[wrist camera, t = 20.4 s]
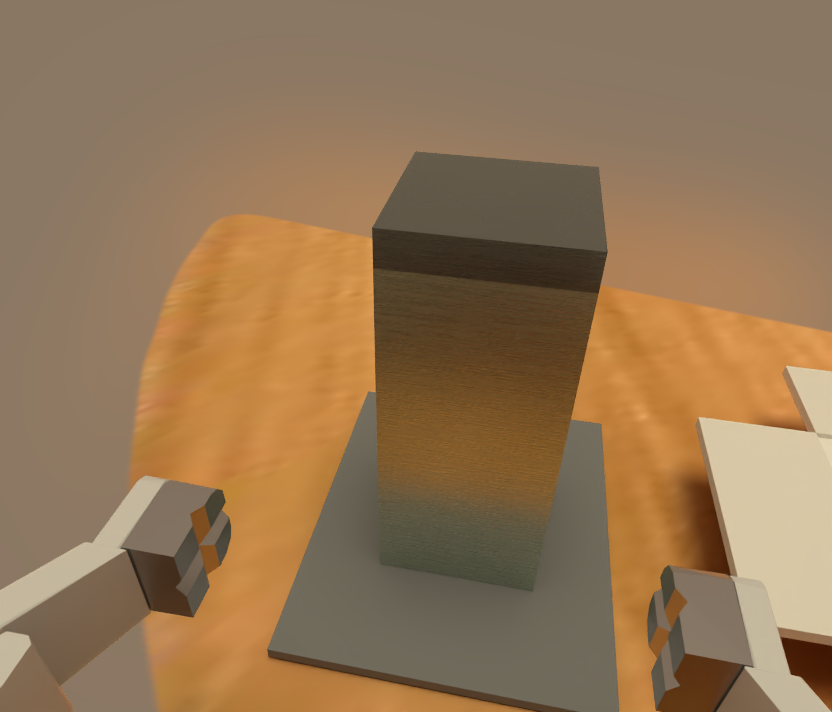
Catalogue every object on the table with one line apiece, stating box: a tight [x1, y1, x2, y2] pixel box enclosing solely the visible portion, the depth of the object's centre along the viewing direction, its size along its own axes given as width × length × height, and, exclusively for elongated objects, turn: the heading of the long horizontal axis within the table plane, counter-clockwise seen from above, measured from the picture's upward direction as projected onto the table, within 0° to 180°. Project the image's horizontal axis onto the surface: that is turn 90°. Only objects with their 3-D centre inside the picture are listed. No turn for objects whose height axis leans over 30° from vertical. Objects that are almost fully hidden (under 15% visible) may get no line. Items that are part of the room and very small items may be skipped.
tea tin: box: [372, 152, 608, 592], centre depth 19 cm, size 5×5×12 cm
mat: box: [267, 392, 619, 712], centre depth 23 cm, size 10×12×1 cm
